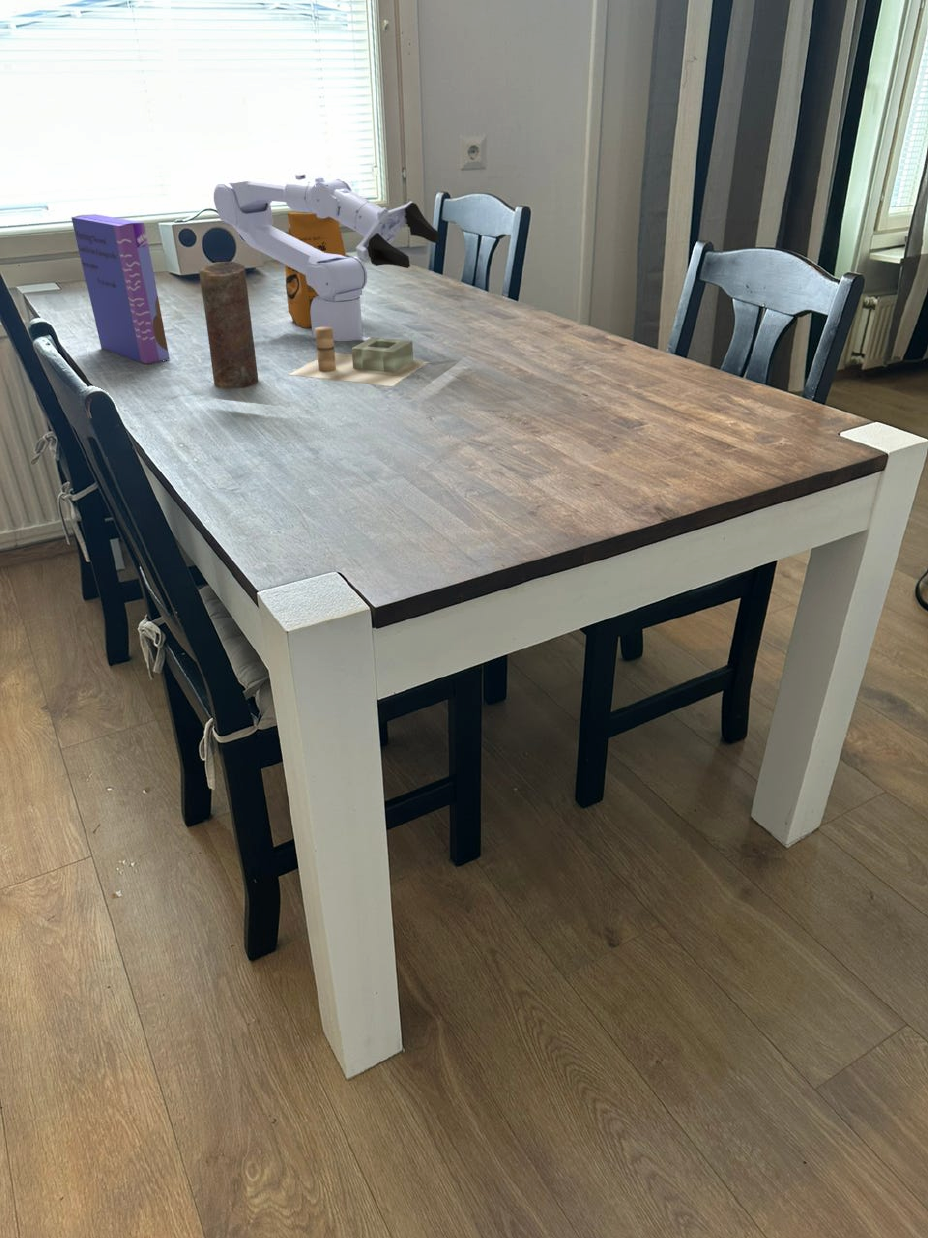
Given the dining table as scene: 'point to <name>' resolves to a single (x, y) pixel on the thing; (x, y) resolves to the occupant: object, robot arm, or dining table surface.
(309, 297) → the coffee package
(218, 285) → the brown faceted post
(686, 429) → the dining table surface
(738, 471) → the dining table surface
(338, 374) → the board
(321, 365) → the peg
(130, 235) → the cereal box
